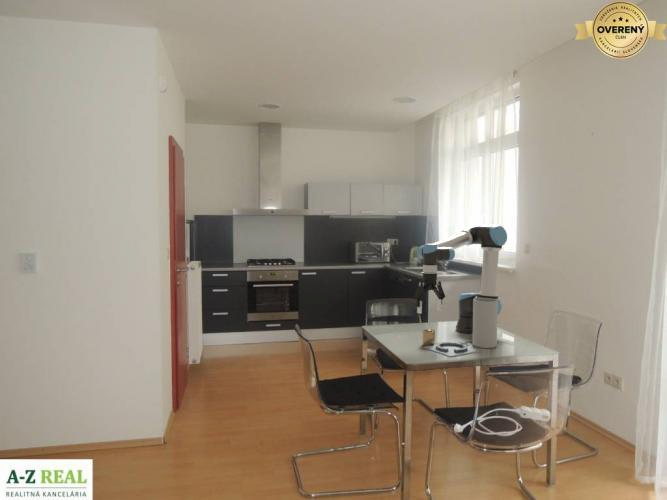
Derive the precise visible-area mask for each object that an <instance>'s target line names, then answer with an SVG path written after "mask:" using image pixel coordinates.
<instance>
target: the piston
mask: <svg viewBox="0 0 667 500" xmlns="http://www.w3.org/2000/svg"><path fill="white" fill-rule="evenodd" d="M435 341H436V331H435V330H434V329H433V328H425V329H422V346H424V347H426V346H432V345H436V342H435Z"/></svg>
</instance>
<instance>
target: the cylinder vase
mask: <svg viewBox="0 0 667 500" xmlns="http://www.w3.org/2000/svg"><path fill="white" fill-rule="evenodd" d="M497 310H498V300H497V299H492V298H474V299H473V333H472V345H473V346H474V347H476V348H482V349H494V348H496V347H497V346H498V344H497V343H498V316H497Z"/></svg>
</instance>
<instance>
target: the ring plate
mask: <svg viewBox="0 0 667 500" xmlns="http://www.w3.org/2000/svg"><path fill="white" fill-rule="evenodd" d="M442 347H443V348H448V352H443V351H439V350H437V349H436V344H435V345H432V346H424V347H423V348H424V349H425V350H429V351H432V352H435V353H437V354H440V355H443V356H446V357H449V358H454V357H459V356H465V355H469V354H476V353H479V352H481V350H479V349H475V348H473V347H469V346H468V349H467V351H466V352H463V353H455V352H454V349H460V348H461V347H457V346H442Z"/></svg>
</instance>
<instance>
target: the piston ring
mask: <svg viewBox="0 0 667 500" xmlns="http://www.w3.org/2000/svg"><path fill="white" fill-rule="evenodd" d="M435 345H436V349H437V350H439V351H443V352H448V348H443V347H442V346H457V347H461V348H460V349H454V352H455V353H463V352H466V351H467V349H468V347H469V346H468V345H466V344H464V343H461V342H456V341H443V342H442V341H441V342H438V343H435Z"/></svg>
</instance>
